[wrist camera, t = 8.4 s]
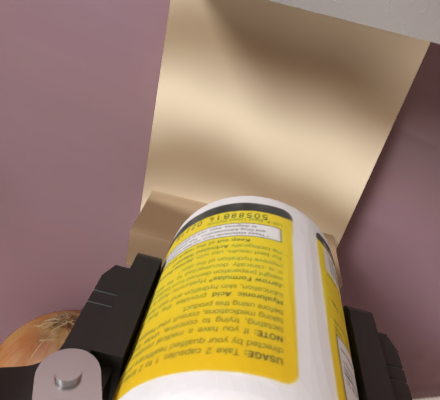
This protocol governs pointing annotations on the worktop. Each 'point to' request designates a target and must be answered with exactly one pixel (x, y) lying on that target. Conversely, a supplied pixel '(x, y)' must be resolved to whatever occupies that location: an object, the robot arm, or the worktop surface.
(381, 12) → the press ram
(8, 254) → the worktop surface
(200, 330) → the supplement bottle
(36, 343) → the onion
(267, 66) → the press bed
